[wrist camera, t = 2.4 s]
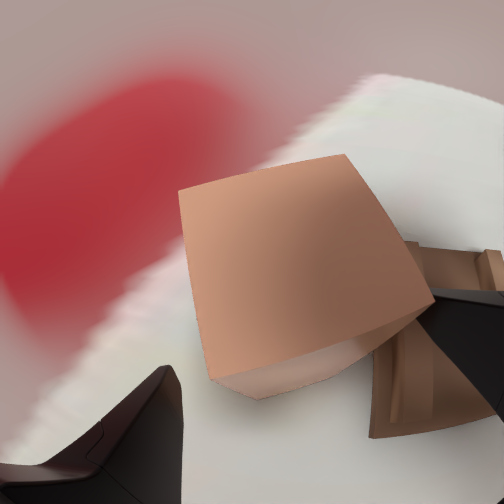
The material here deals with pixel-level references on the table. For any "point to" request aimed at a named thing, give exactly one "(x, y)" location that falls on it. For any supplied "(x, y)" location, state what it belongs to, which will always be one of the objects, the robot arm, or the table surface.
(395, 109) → the table surface
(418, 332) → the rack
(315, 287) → the clay bar
